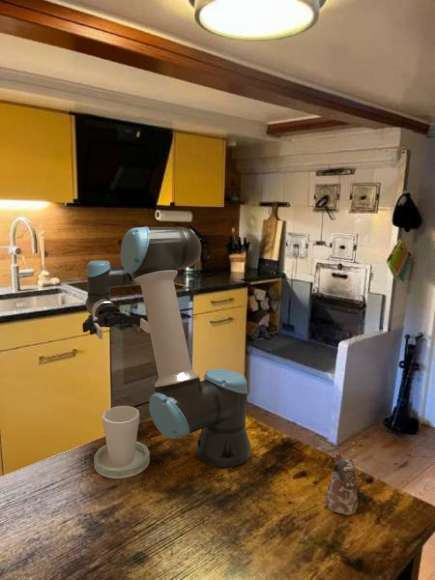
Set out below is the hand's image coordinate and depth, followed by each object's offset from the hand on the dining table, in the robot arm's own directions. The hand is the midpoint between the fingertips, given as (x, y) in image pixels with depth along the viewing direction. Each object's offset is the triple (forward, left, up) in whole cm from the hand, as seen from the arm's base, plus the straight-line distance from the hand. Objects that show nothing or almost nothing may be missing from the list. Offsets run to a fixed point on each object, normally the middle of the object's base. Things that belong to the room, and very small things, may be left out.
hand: (125, 331), depth 121 cm
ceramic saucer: (-9, +10, -32) cm, 35 cm away
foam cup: (-9, +10, -32) cm, 34 cm away
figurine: (-61, -11, -32) cm, 70 cm away
